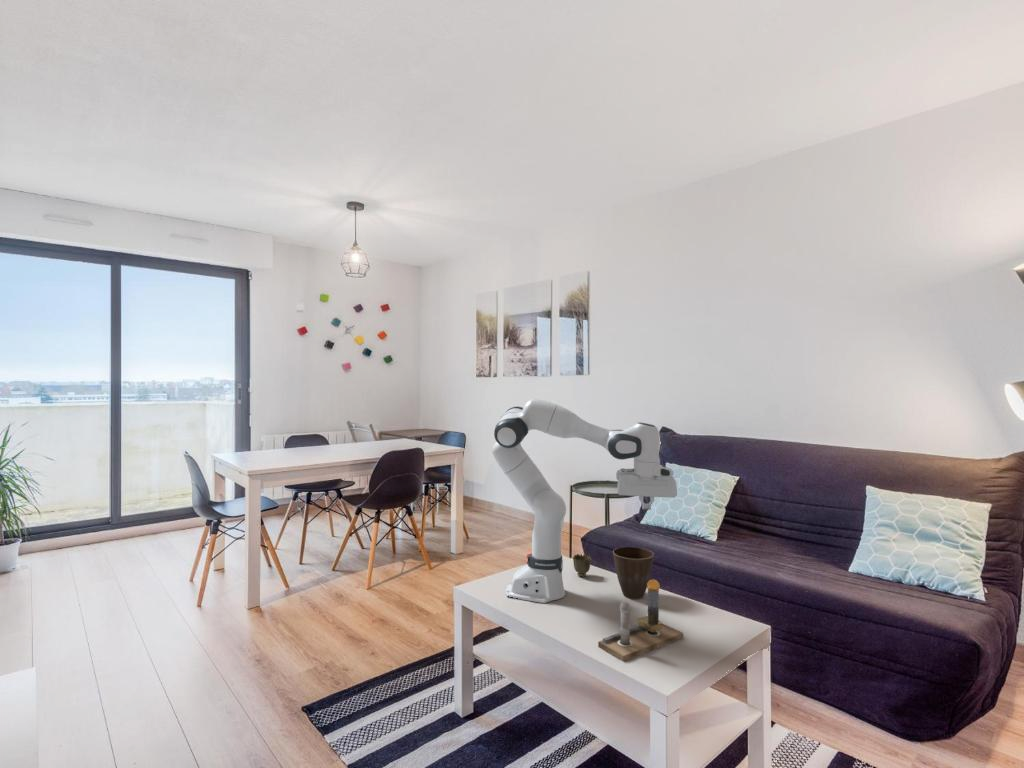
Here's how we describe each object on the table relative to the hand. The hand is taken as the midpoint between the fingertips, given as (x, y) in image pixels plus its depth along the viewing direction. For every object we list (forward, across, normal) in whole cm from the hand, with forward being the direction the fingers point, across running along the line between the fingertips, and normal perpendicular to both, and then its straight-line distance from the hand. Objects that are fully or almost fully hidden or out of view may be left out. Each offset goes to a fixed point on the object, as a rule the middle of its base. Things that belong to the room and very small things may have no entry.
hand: (646, 509), depth 179 cm
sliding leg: (+33, 0, -19) cm, 38 cm away
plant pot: (+35, -4, +13) cm, 38 cm away
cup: (+35, -24, +30) cm, 52 cm away
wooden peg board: (+35, -3, -24) cm, 43 cm away
